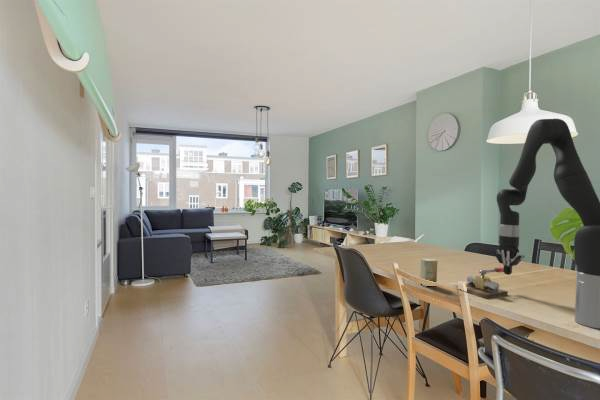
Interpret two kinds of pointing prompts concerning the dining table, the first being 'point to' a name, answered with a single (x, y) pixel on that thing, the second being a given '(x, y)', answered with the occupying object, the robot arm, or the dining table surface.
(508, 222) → the robot arm
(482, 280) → the valve
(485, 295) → the mounting board
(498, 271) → the lever
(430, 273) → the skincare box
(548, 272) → the dining table surface
